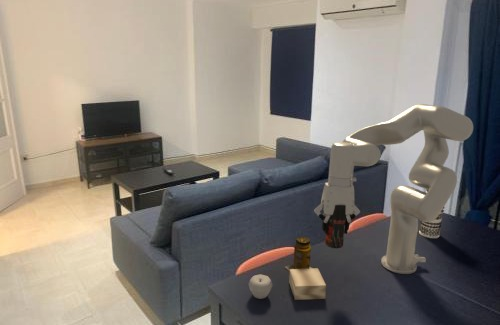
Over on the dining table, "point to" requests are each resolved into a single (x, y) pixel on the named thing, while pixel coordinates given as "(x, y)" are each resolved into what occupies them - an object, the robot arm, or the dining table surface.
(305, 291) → the block
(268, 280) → the apple
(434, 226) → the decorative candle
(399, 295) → the dining table surface
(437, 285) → the dining table surface
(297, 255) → the condiment
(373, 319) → the dining table surface
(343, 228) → the deodorant
